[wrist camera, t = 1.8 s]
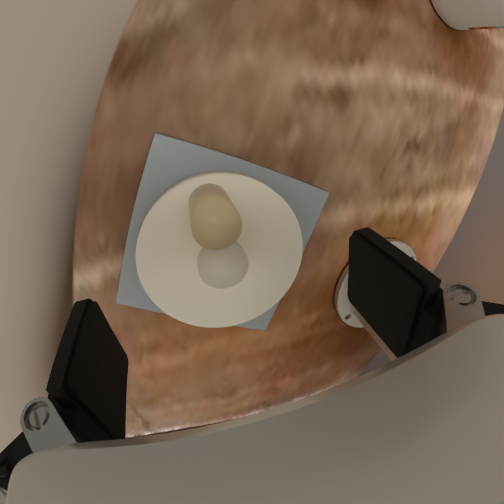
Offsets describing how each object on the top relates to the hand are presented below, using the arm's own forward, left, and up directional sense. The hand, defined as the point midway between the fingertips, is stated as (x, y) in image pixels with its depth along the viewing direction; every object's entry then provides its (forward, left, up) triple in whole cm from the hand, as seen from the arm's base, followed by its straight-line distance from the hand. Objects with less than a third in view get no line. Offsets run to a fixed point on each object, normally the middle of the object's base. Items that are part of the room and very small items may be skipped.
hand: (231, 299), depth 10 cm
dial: (-3, +4, -15) cm, 16 cm away
